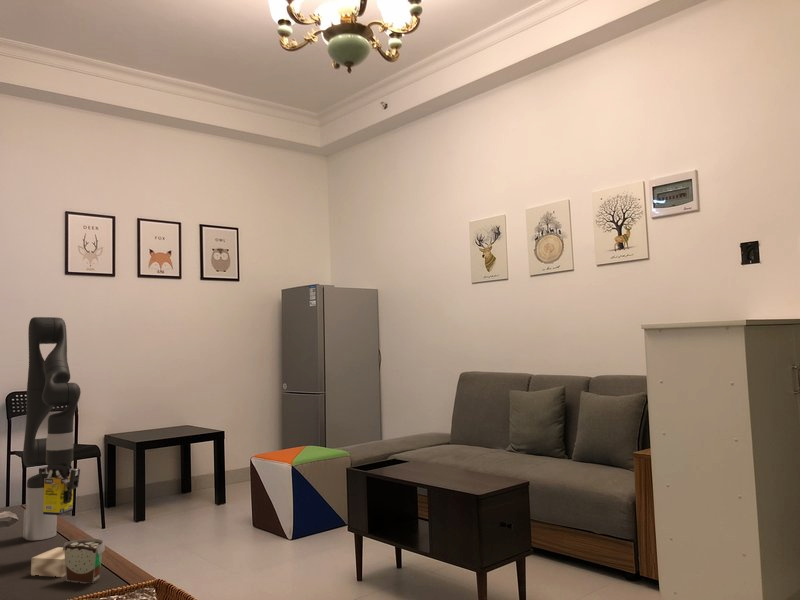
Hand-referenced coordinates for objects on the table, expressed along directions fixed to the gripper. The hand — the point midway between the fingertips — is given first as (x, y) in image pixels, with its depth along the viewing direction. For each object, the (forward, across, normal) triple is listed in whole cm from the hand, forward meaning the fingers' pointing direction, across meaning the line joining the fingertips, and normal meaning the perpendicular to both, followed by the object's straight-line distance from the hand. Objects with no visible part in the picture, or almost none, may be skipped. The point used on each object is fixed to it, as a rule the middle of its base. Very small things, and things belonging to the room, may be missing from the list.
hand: (58, 502), depth 196 cm
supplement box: (+3, 0, 0) cm, 3 cm away
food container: (+16, -25, +14) cm, 33 cm away
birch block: (+16, -11, +10) cm, 22 cm away
